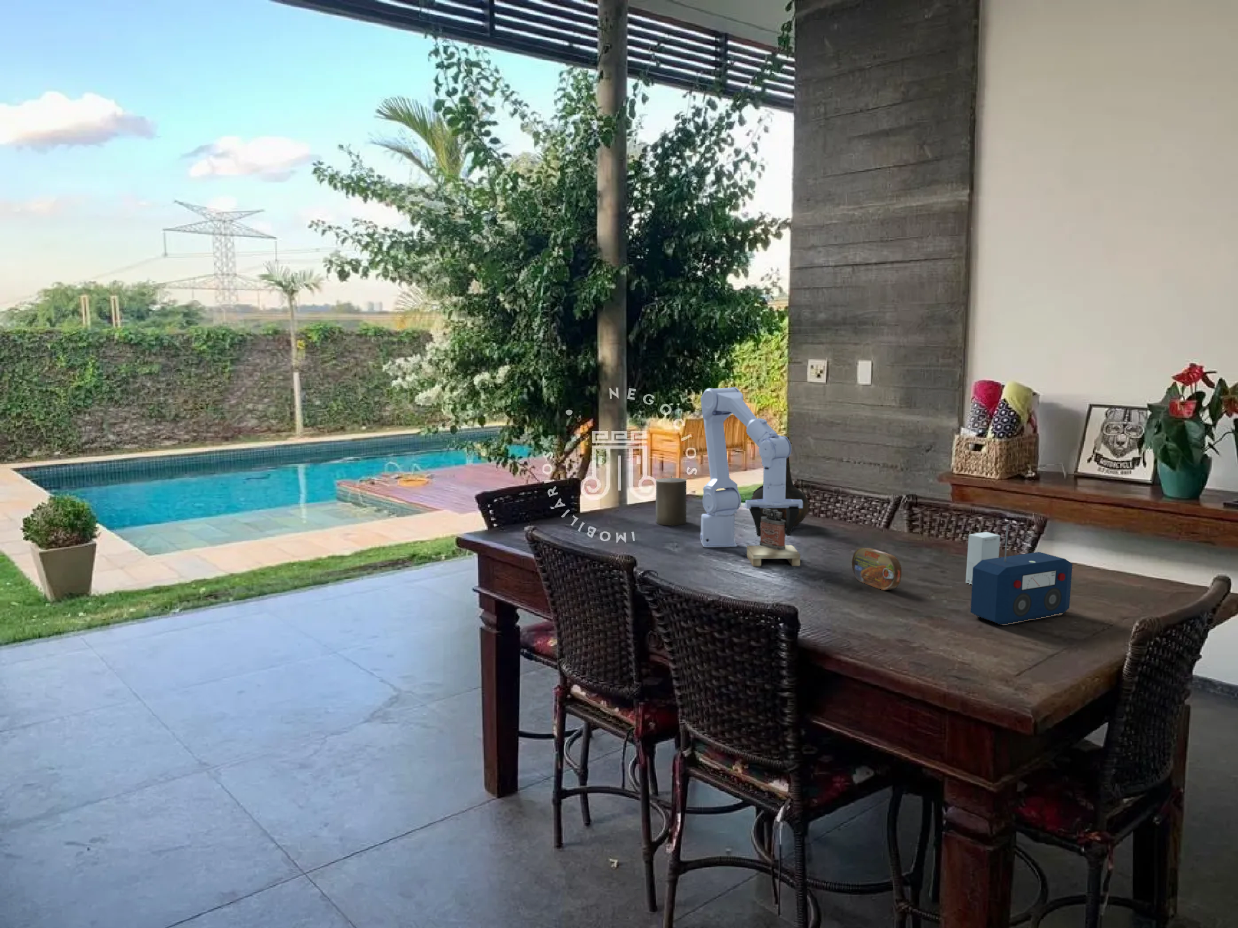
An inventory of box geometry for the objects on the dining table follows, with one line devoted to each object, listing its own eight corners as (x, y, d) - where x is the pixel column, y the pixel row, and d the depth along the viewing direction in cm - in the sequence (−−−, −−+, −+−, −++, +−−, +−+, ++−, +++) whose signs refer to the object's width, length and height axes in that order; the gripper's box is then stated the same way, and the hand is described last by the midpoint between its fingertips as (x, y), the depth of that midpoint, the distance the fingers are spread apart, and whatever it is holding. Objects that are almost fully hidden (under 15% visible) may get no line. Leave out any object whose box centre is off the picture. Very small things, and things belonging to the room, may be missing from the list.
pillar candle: (687, 525, 272) (687, 478, 270) (655, 525, 272) (656, 478, 270) (685, 519, 282) (685, 473, 280) (655, 519, 282) (655, 473, 280)
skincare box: (980, 588, 204) (982, 537, 202) (965, 583, 207) (967, 534, 206) (998, 584, 206) (1000, 534, 205) (983, 580, 210) (985, 531, 208)
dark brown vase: (765, 517, 284) (767, 431, 280) (817, 524, 274) (820, 434, 270) (739, 527, 270) (740, 436, 266) (793, 534, 259) (795, 440, 255)
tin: (850, 578, 213) (851, 544, 212) (860, 576, 214) (862, 543, 213) (892, 594, 199) (893, 558, 198) (903, 593, 200) (904, 557, 199)
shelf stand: (753, 566, 224) (753, 554, 223) (746, 556, 234) (747, 545, 233) (800, 565, 224) (800, 554, 224) (791, 556, 234) (792, 545, 234)
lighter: (788, 548, 230) (789, 511, 228) (779, 550, 228) (780, 512, 226) (765, 543, 236) (766, 506, 235) (756, 544, 234) (757, 508, 233)
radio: (1000, 629, 175) (1006, 531, 172) (966, 617, 183) (971, 523, 180) (1074, 616, 183) (1081, 522, 180) (1039, 604, 191) (1045, 514, 188)
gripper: (748, 486, 222) (748, 538, 224) (806, 486, 222) (804, 538, 224) (744, 481, 229) (743, 532, 231) (799, 481, 229) (798, 532, 231)
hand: (773, 535), depth 228 cm, fingers open, 7 cm apart
